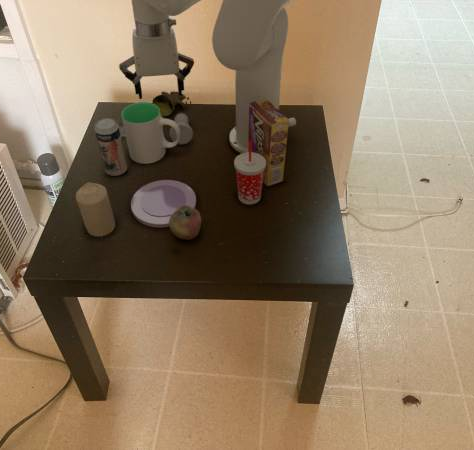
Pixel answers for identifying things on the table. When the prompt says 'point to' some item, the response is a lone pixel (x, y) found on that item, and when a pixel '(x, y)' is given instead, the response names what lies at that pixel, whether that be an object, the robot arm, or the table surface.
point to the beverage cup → (249, 175)
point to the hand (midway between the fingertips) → (160, 94)
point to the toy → (168, 102)
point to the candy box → (268, 138)
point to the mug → (146, 132)
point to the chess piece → (181, 129)
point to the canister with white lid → (111, 146)
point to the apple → (185, 222)
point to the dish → (161, 202)
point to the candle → (95, 209)
